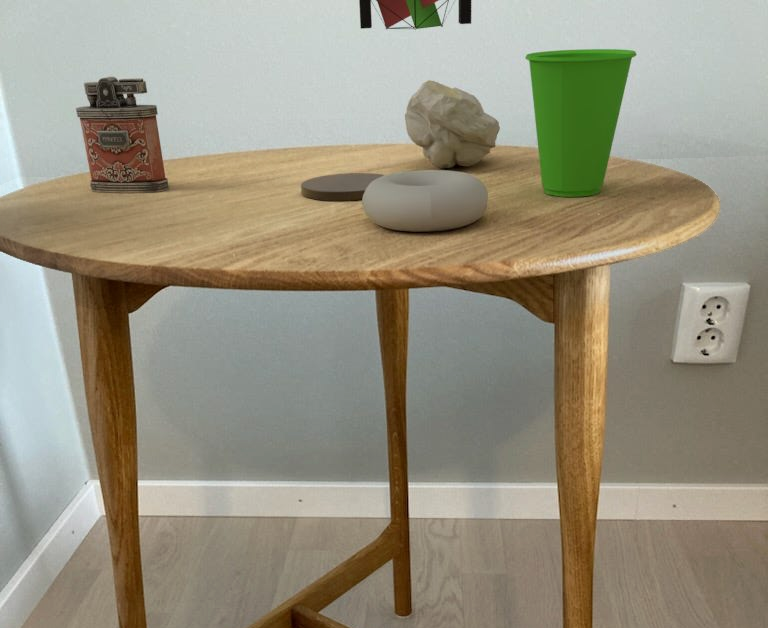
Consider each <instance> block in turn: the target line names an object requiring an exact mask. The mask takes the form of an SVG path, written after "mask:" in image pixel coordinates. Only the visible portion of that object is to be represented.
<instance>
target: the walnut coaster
mask: <svg viewBox="0 0 768 628" xmlns="http://www.w3.org/2000/svg"><path fill="white" fill-rule="evenodd" d="M384 175H385V174H382V173H373V172H353V173H352V172H348V173H336V174H326V175H321V176H316V177H312V178H309V179H306V180H304V181H303V182H301V184H300V191H301V192H300V193H301V195H302V196H303V197H305V198H308V199H311V200H318V201H329V202H330V201H331V202H332V201H333V202H347V201H348V202H350V201H351V202H352V201H362V200H363V195H364V192H365V190H366V188H367V187H368V185H369V184H370V183H371V182H372V181H374V180H376V179H377V178H380V177H382V176H384Z"/></svg>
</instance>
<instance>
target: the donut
mask: <svg viewBox="0 0 768 628" xmlns="http://www.w3.org/2000/svg"><path fill="white" fill-rule="evenodd" d="M383 175H384V176H382V177H380V178H377V179H376V180H374V181H372V182H371V183H370V184H369V185H368V187H367V188H366V190H365V192H364V195H363V200H361V203H362V208H363V211H364V213H365V215H366V216H367V217H368V219H369V220H370V221H371V222H373V223H374V224H375V225H377V226H380V227H383V228H385V229H388V230H394V231H398V232H411V233H417V232H418V233H420V232H421V233H423V232H424V233H427V232H428V233H429V232H440V231H441V232H443V231H448V230H455V229H459V228H462V227H466V226H468V225H470V224H473V223H475V221H478V220H479V219H480V218H481V217H482V216H483V215H484V214H485V212H486V211H487V210H486V209H487V207H488V201H489V194H488V189H487V186H486V185H485V184H484V182H483V181H482V180H481V179H479V178H478V177H476V176H474V175H473V174H471V173H466V172H463V171H455V170H445V169H422V170H421V169H419V170H408V171H406V170H405V171H399V172H393V173H389V174H383Z"/></svg>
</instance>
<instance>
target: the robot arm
mask: <svg viewBox="0 0 768 628" xmlns="http://www.w3.org/2000/svg"><path fill="white" fill-rule="evenodd" d="M358 1H359V2H358V3H359V4H358V5H359V22H360V23H359V24H360V29H363V30H364V29H372V27H373V23H372V2H371V1H372V0H358ZM458 24H460V25H470V24H472V0H458Z"/></svg>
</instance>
